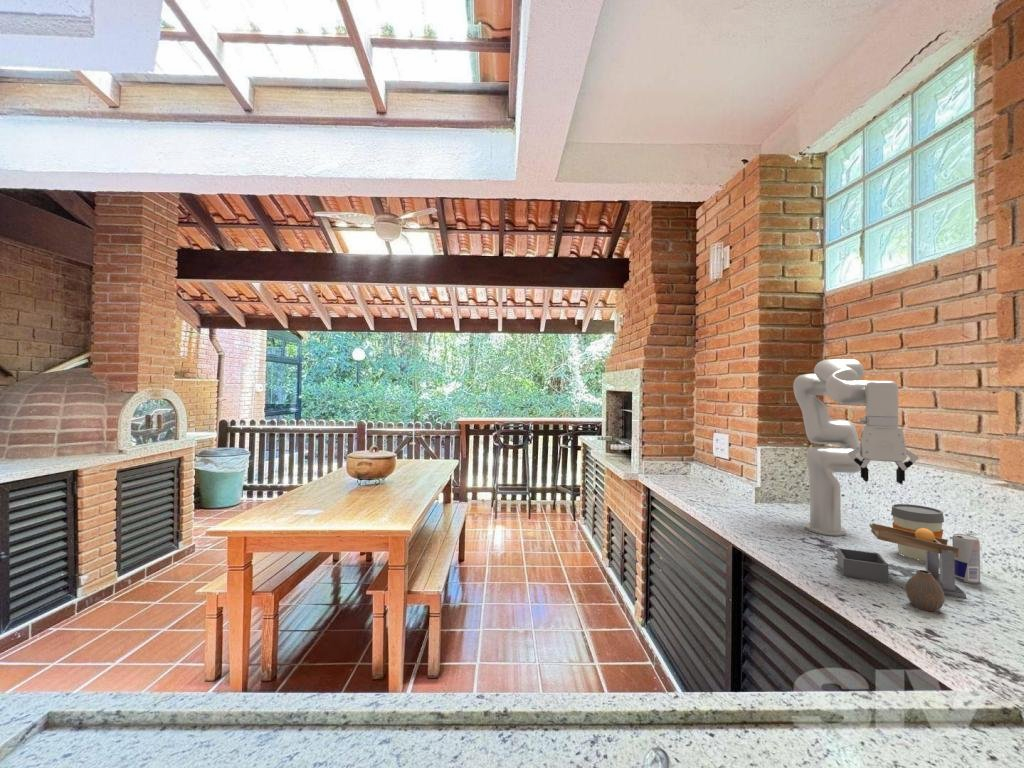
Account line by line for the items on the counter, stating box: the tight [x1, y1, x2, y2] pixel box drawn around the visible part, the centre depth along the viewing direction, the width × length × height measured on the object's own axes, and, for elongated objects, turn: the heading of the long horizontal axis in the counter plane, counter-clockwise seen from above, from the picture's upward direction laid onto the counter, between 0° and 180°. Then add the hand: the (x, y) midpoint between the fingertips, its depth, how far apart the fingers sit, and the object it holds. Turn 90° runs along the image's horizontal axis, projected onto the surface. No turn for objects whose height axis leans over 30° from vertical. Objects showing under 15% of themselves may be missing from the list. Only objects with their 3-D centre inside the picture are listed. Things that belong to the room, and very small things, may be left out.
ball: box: [915, 528, 935, 542], centre depth 123 cm, size 4×4×4 cm
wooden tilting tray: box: [869, 522, 959, 557], centre depth 127 cm, size 15×16×3 cm
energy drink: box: [951, 533, 981, 585], centre depth 125 cm, size 5×5×12 cm
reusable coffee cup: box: [890, 503, 945, 561], centre depth 143 cm, size 13×13×15 cm
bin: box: [836, 547, 889, 584], centre depth 129 cm, size 10×10×5 cm
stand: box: [915, 549, 967, 599], centre depth 121 cm, size 14×6×11 cm, turn 153°
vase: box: [905, 569, 945, 612], centre depth 109 cm, size 7×7×9 cm
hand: (882, 481), depth 133 cm, fingers open, 7 cm apart
